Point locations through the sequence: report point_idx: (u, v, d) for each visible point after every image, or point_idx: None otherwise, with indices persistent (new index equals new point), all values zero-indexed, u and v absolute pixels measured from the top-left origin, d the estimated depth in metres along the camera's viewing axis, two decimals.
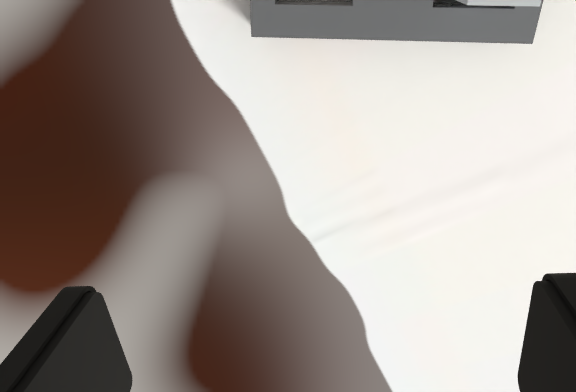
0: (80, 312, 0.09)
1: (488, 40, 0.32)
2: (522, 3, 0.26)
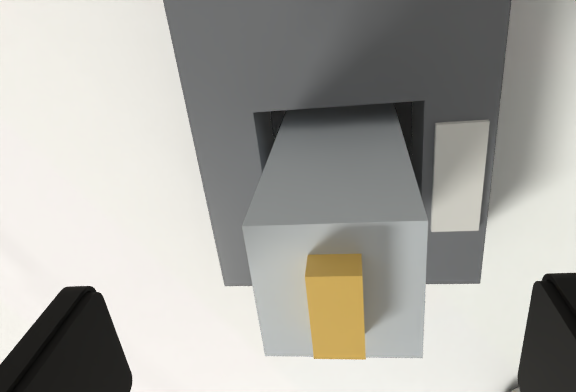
0: (80, 312, 0.09)
1: (214, 223, 0.17)
2: (265, 327, 0.12)
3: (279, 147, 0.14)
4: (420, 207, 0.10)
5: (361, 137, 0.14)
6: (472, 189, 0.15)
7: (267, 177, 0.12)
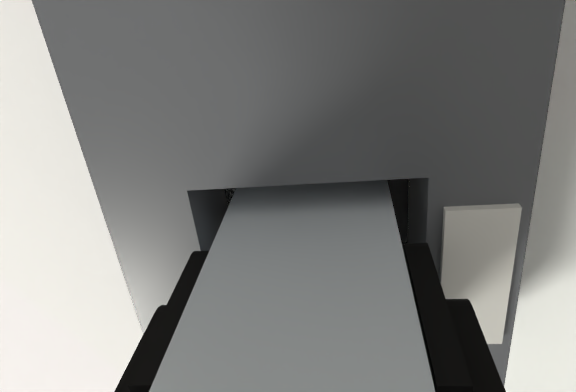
0: None
1: (146, 327, 0.13)
2: None
3: (220, 249, 0.10)
4: None
5: (339, 234, 0.10)
6: (494, 293, 0.11)
7: (189, 320, 0.08)
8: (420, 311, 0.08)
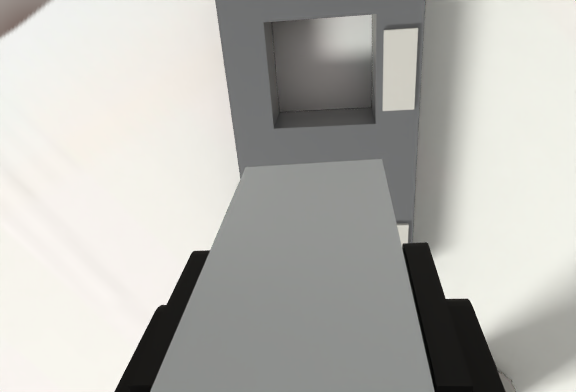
0: None
1: None
2: None
3: (220, 251, 0.10)
4: None
5: (338, 235, 0.10)
6: None
7: (190, 322, 0.08)
8: (420, 311, 0.08)
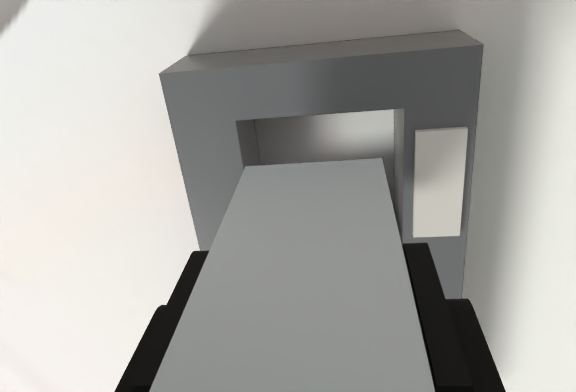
0: None
1: None
2: None
3: (220, 250, 0.10)
4: None
5: (338, 234, 0.10)
6: None
7: (190, 320, 0.08)
8: (420, 311, 0.08)
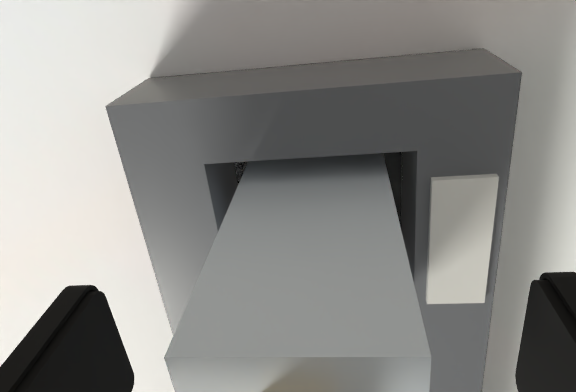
0: (82, 311, 0.09)
1: None
2: None
3: (236, 210, 0.11)
4: (419, 328, 0.07)
5: (340, 197, 0.11)
6: None
7: (213, 262, 0.09)
8: None
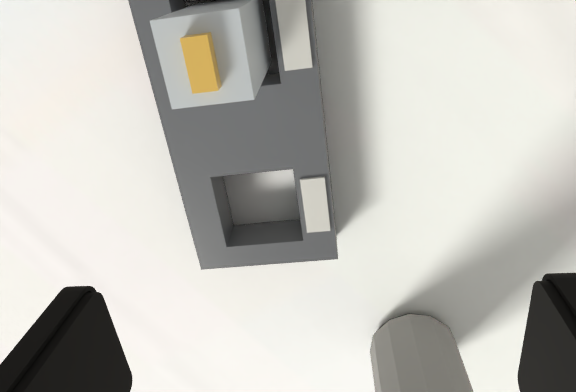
0: (80, 312, 0.09)
1: (193, 234, 0.32)
2: (169, 88, 0.21)
3: (182, 9, 0.24)
4: (239, 7, 0.20)
5: (230, 2, 0.24)
6: (323, 210, 0.30)
7: (169, 14, 0.22)
8: None
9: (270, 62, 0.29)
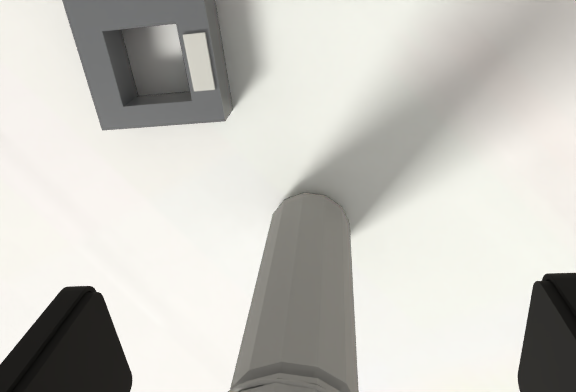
0: (80, 312, 0.09)
1: (92, 92, 0.35)
2: None
3: None
4: None
5: None
6: (206, 67, 0.33)
7: None
8: None
9: None
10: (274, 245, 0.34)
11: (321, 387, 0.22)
